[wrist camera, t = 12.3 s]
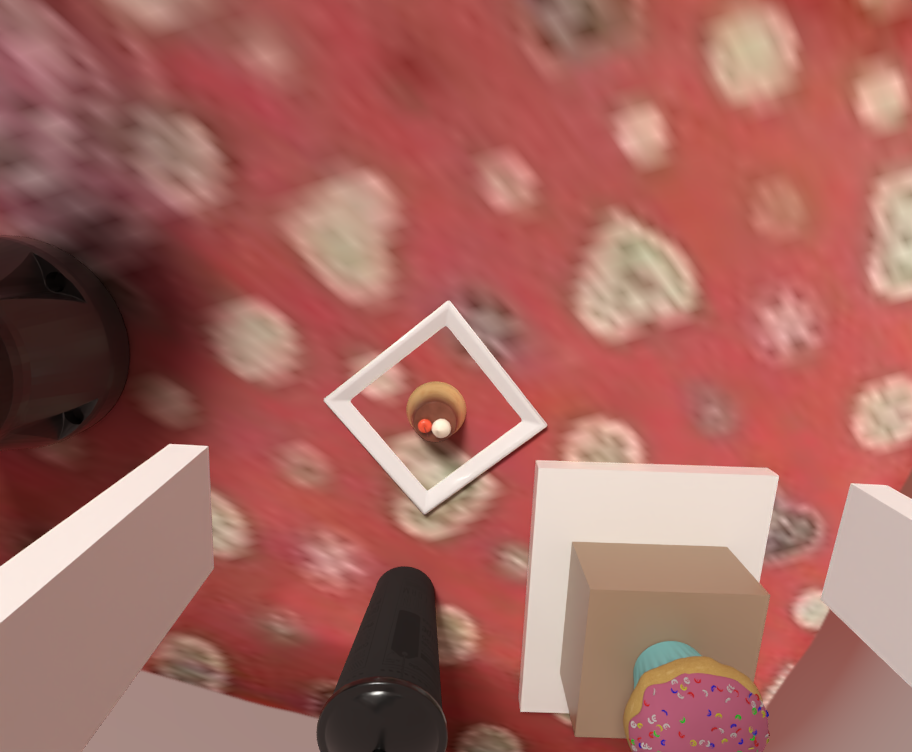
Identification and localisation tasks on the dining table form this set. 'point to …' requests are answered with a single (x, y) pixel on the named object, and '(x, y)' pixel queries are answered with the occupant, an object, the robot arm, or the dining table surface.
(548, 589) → the plinth
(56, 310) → the robot arm
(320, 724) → the drinking cup
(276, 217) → the dining table surface
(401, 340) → the white square frame
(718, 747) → the cupcake
